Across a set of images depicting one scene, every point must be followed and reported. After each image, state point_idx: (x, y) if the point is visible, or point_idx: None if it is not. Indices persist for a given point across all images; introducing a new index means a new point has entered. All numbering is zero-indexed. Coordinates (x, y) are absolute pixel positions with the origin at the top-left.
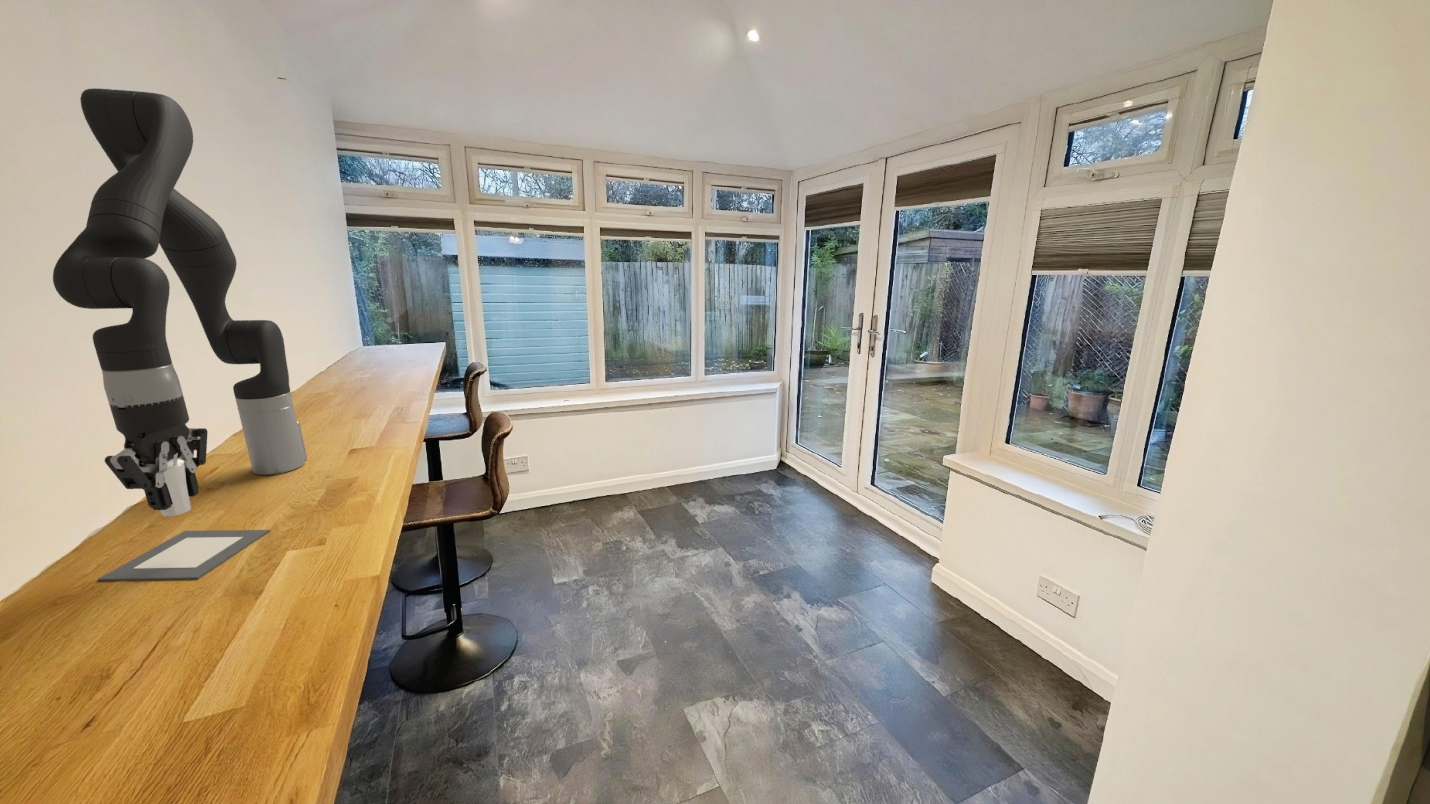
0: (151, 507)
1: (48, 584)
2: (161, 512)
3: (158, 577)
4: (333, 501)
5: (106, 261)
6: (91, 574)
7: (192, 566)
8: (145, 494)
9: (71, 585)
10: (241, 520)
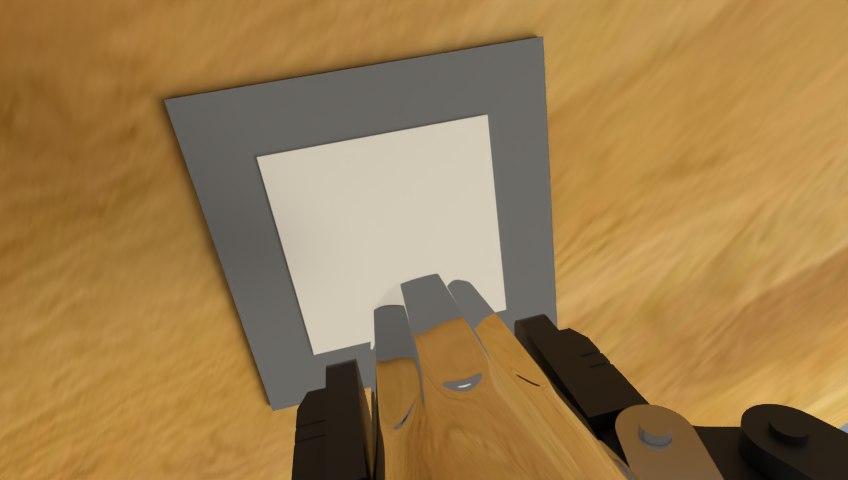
0: (305, 402)
1: None
2: (373, 317)
3: (239, 304)
4: (752, 340)
5: None
6: (192, 8)
7: (317, 340)
8: (292, 478)
9: (108, 22)
10: (635, 165)
